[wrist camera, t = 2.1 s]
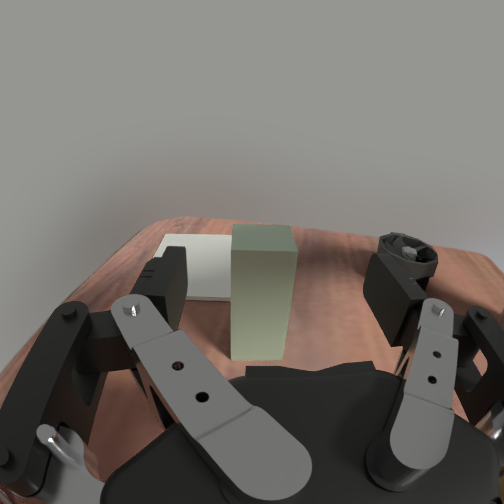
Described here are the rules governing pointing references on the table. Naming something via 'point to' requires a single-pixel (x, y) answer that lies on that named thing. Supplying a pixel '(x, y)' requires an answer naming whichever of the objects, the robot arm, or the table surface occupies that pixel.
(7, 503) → the soda can
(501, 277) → the table surface
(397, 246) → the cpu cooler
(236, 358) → the sage block
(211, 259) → the white mat
